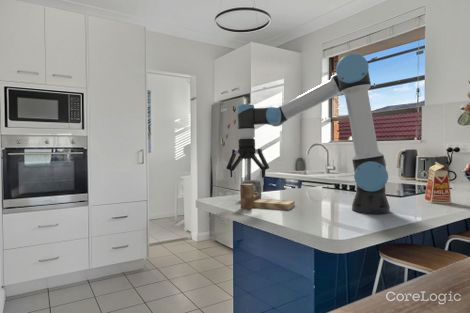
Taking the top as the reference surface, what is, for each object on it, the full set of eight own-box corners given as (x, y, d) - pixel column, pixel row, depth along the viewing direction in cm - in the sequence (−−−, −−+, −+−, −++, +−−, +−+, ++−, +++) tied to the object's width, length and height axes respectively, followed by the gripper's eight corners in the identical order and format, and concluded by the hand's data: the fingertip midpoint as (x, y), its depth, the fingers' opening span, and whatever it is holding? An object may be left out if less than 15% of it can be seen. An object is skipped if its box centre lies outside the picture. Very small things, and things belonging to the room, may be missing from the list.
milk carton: (423, 200, 166) (424, 161, 165) (443, 200, 165) (443, 161, 164) (432, 203, 157) (432, 162, 156) (452, 203, 156) (453, 162, 155)
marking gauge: (261, 203, 160) (261, 181, 159) (249, 209, 145) (249, 185, 145) (253, 203, 162) (253, 181, 161) (240, 208, 147) (240, 184, 147)
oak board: (294, 206, 152) (294, 200, 152) (289, 210, 143) (289, 204, 143) (251, 203, 161) (251, 197, 161) (243, 206, 152) (243, 201, 152)
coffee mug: (244, 198, 177) (244, 180, 177) (262, 198, 175) (262, 180, 175) (240, 202, 164) (239, 182, 164) (259, 202, 162) (259, 182, 162)
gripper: (275, 137, 146) (276, 184, 146) (225, 139, 156) (226, 183, 156) (270, 137, 139) (271, 186, 139) (218, 139, 149) (219, 185, 150)
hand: (247, 184), depth 148 cm, fingers open, 13 cm apart
